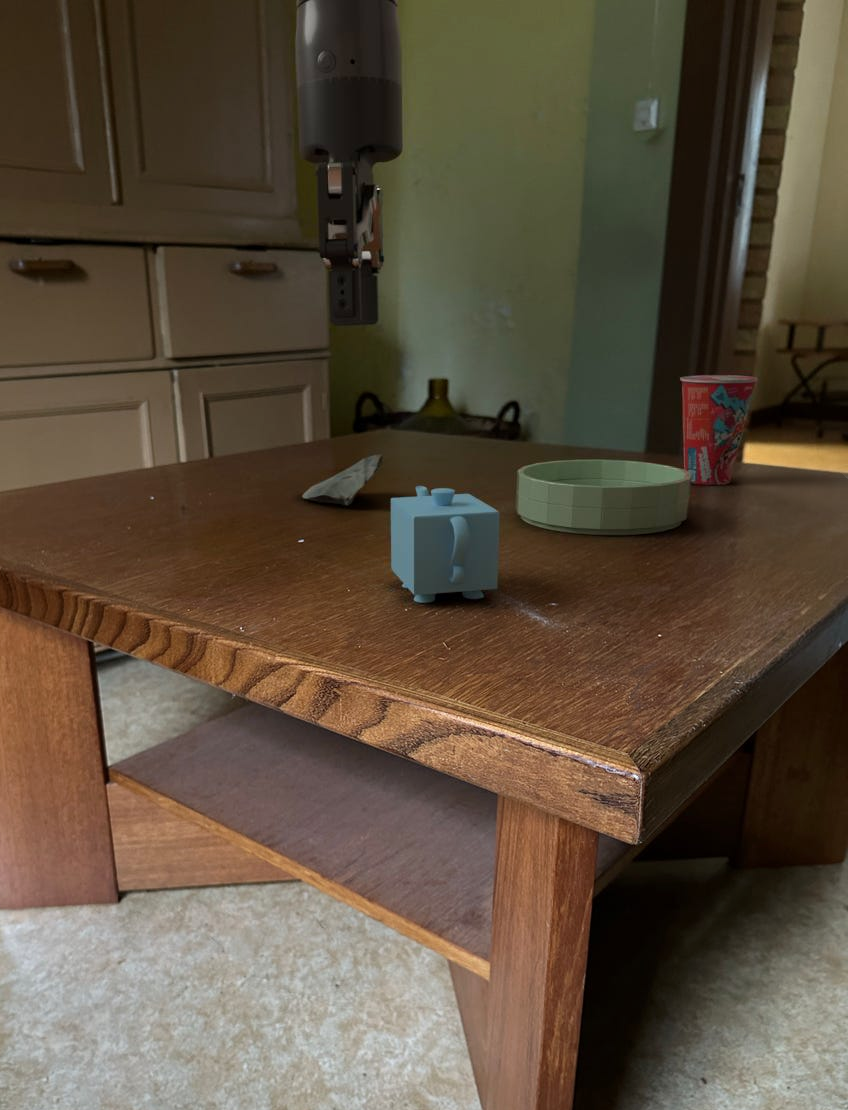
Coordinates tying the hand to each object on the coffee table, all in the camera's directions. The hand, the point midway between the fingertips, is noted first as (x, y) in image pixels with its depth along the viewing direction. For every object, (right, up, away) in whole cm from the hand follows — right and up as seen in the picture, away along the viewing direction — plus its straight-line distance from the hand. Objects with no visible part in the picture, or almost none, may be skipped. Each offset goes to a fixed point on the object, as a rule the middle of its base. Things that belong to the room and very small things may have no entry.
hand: (356, 325), depth 70 cm
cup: (+41, -5, +39) cm, 57 cm away
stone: (-2, -9, +31) cm, 32 cm away
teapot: (+6, -21, -2) cm, 22 cm away
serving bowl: (+24, -12, +20) cm, 34 cm away
